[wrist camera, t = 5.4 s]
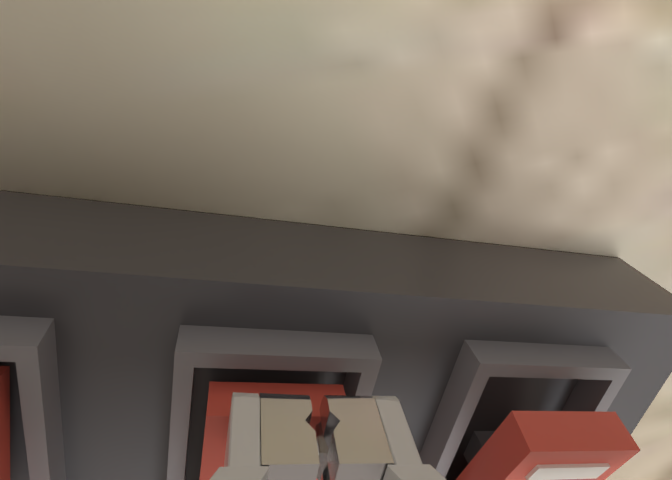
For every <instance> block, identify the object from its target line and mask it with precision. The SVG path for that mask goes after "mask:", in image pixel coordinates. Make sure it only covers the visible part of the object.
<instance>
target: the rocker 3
mask: <svg viewBox="0 0 672 480" xmlns="http://www.w3.org/2000/svg"><path fill="white" fill-rule="evenodd" d="M639 451H640V449H639V447H638V446H637V444H636V443H635V441H634V440H633V438H632V437H631V435H630V433H629V432H628V430H627V429H626V427H625V426H624V424H623V423H622V421H621V420H620V418H619V417H618V415H617V413H616V412H596V411H511V412H510V413H509V415H508V416H507V417H506V418H505V420H504V421H503V422H502V423H501V424H500V426H499V427H498V428H497V429H496V431H495V432H494V433H493V434H492V436H491V437H490V438H489V439H488V440H487V442H486V443H485V444H484V445H483V447H482V448H481V449H480V450H479V451H478V453H477V454H476V455H475V456H474V458H473V459H472V460H471V461H470V463H469V464H468V465H467V466H466V467H465V469H464V470H463V471H462V472H461V474H460V475H459V476H458V477H457V479H456V480H605V479H606V478H607V477H608V476H610V475H611V474H612V473H613V472H615V471H616V470H617V469H618V468H619V467H621V466H622V465H623V464H624V463H626V462H627V461H628V460H629V459H630V458H632V457H633V456H634V455H635V454H637V453H638V452H639Z"/></svg>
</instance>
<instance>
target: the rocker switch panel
mask: <svg viewBox="0 0 672 480" xmlns="http://www.w3.org/2000/svg"><path fill="white" fill-rule="evenodd" d="M0 366H10V480H199V477H200V467H201V458H202V448H203V439H204V429H205V420H206V410H207V401H208V391H209V382H210V381H214V382H256V383H298V384H340V385H343V387H344V390H345V394H346V396H396V397H397V398H398V399H399V401H400V404H401V407H402V409H403V412H404V415H405V418H406V420H407V423H408V426H409V428H410V431H411V434H412V436H413V439H414V442H415V445H416V447H417V450H418V453H419V455H420V458H421V461H422V463H423V464H430V465H431V466H432V467H433V468H434V469H436V470H437V471H438V472H439V473H440V474H441V475H442V476H443V477H444V478H445V479H446V480H456V479H457V477H458V476H459V475H460V474H461V472H462V471H463V470H464V469H465V467H466V466H467V465H468V464H469V463H470V461H471V460H472V459H473V458H474V456H475V455H476V454H477V453H478V451H479V450H480V449H481V448H482V447H483V445H484V444H485V443H486V442H487V440H488V439H489V438H490V437H491V436H492V434H493V433H494V432H495V431H496V429H497V428H498V427H499V426H500V424H501V423H502V422H503V421H504V420H505V418H506V417H507V416H508V415H509V413H510V412H511V411H596V412H616V413H617V415H618V417H619V418H620V420H621V421H622V423H623V424H624V426H625V427H626V429H627V430H628V432H629V433H630V435H631V433H632V432H633V430H634V429H635V427H636V426H637V424H638V423H639V421H640V420H641V418H642V417H643V415H644V413H645V412H646V410H647V409H648V407H649V406H650V404H651V403H652V401H653V400H654V398H655V397H656V395H657V393H658V392H659V390H660V389H661V387H662V386H663V384H664V383H665V381H666V380H667V378H668V377H669V375H670V373H671V372H672V294H671V293H670V292H668V291H667V290H665V289H664V288H663V287H661V286H660V285H658V284H657V283H655V282H654V281H652V280H651V279H649V278H648V277H646V276H645V275H644V274H642V273H641V272H639V271H638V270H636V269H635V268H633V267H632V266H630V265H629V264H627V263H626V262H625V261H623V260H622V259H620V258H615V257H606V256H596V255H587V254H578V253H569V252H560V251H550V250H541V249H532V248H523V247H514V246H505V245H495V244H486V243H477V242H468V241H459V240H449V239H440V238H431V237H422V236H413V235H404V234H394V233H385V232H376V231H367V230H358V229H348V228H339V227H330V226H321V225H312V224H303V223H293V222H284V221H275V220H266V219H257V218H247V217H238V216H229V215H220V214H211V213H201V212H192V211H183V210H174V209H165V208H156V207H146V206H137V205H128V204H119V203H110V202H100V201H91V200H82V199H73V198H64V197H55V196H45V195H36V194H27V193H18V192H9V191H0Z"/></svg>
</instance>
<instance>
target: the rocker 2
mask: <svg viewBox="0 0 672 480" xmlns="http://www.w3.org/2000/svg"><path fill="white" fill-rule="evenodd" d="M233 392H239V393H258V394H259V393H271V394H292V395H309V396H310V399H311V404H312V410H313V411H312V416H311V420H310V426H311V427H312V428H313V429H314V430H315V427H316V425H317V424H318V423H319V422H320V421H321V417H320V410H319V409H320V405H321V401H322V398H323V397H324V395H345V396H346V394H345V390H344V387H343V385H340V384H298V383H256V382H214V381H210V382H209V391H208V401H207V410H206V420H205V429H204V439H203V448H202V458H201V467H200V477H199V480H209V479H210V478H211V477H212V476H213V474H214V473H215V472H216V471H217V469H218V468H219V467H224V460H225V450H226V441H227V432H228V424H229V415H230V407H231V399H232V394H233ZM316 480H318V479H317V478H316Z"/></svg>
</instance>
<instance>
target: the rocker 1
mask: <svg viewBox="0 0 672 480" xmlns="http://www.w3.org/2000/svg"><path fill="white" fill-rule="evenodd" d="M0 480H10V366H0Z"/></svg>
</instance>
